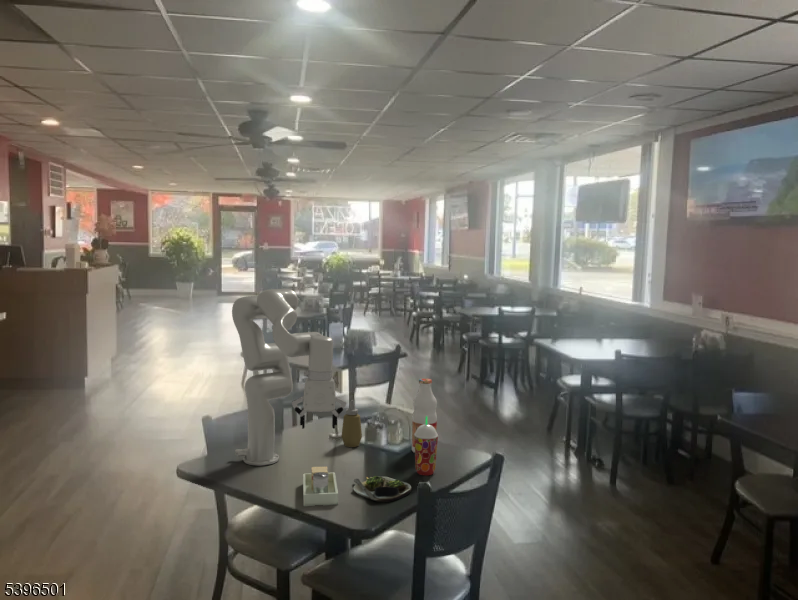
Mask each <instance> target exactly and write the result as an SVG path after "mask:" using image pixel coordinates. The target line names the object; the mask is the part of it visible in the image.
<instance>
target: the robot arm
mask: <svg viewBox="0 0 798 600" xmlns="http://www.w3.org/2000/svg"><path fill="white" fill-rule="evenodd" d="M298 307H299V297H298V295H297V293H296V292H295V291H294V290H292V289H291V288H274V289H273V288H272V289H271V288H270V289H265V290H262V291H261V292H260V293H259V294H257V295H246V296H241V297H239V298H237V299H235V300H234V302H233V304H232V308H231V310H232V311H231V316H232V321H233V323H234V326H235V329H236V331H237V334H238V337H239V341H240V347H241V352H242V356H243V361H244V365H245V368H246V369H247V370H248V371H250V372H261V371H267V370H272V372H267V373H258V374H254V375H252V376H250V377H248V378H247V379H246V381H245V383H244V392H245V397H246V404H247V406H246V407H247V447H246V448H244V449H241V448H240V449H239V448H238V449H237V448H236V449H235V451H234V452H235V456H238V457H243V462H244V463H245V464H247V465H250V466H254V467H255V466H260V467H261V466H269V465H272V464H275V463H277V462H278V461H279V460H280V455H279V454H278V453H276V452H275V451H276V450H275V449H276V448H275V447H276V446H275V445H276V441H275V440H276V439H275V437H276V436H275V435H276V431H275V430H276V427H275V425H276V424H275V422H276V421H275V420H276V419H275V418H276V416H275V415H276V414H275V413H276V412H275V409H274V407H273V406H272V405H271V403H270V400H274V399H279V398H286V397H288V396H290V395H291V393H292V392H293V387H294V385H293V384H294V383H293V377H292V371H291V367H290V361H289V358H299V357H306V356H307V357H308V366H307V367H308V369H307V370H306V371H303V376H306V377H307V378H306V379H305V383H304V389H303V396H300V397H298V398H297V399H294V400H293V401H291V405H292V407H293V409H294V411H295V412H296V413H297V414H298V415H299V419H300V420H299V425H300V426H301V429H305V427H306V426H305V425H306V424H305V422H306V420H305V419H306V413H308V412H312V413H316V412H317V413H323V412H324V413H328V412H330V413H332V415H331V416H332V417H331V418H332V419H331V422H332V423H331V426H332V427H331V428H332V429H335V428H336V426H338V416H339V415H340V414H342V412H343V411H344V409H345V407H346V405H347V401H346V400H343V399H342V398H339V397H338V396H336V382H335V379H334V378H333V355H334V354H333V353H334V340H333V338H332V337H329V336H326V335H323V334H321V333H320V332H317V331H309V332H294V333H290V332H289V331H288V330H290V329H291V328H292V327H293V326H294V325H295V324H296V322H297V319H298V314H297V312H296V310H297V308H298ZM260 319H262V320H263V319H268V320H269V321H270V322H271V324H273V327H272V339H273V341H274V342H270V343H266V341H265V336H264V332H263V330H262V328H261V327H260V325H258V324H257V322H255V320H260ZM300 403H302V408H300V407H299V404H300ZM336 403H338V404H339V405H340V406H339V407H338V408H337V409H336Z"/></svg>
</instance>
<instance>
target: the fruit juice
mask: <svg viewBox="0 0 798 600" xmlns="http://www.w3.org/2000/svg"><path fill="white" fill-rule="evenodd" d="M432 380H433V379H431V378H419V379H418V384H419V388H418V391H417V393H416V395H415V396H414V398H413V399H412V400H413V401H412V405H413V412H412V417H411V421H412V424H411V426H412V428H411V451H412V452H413V454H415V441H414V433H415V432H416V430H417V429H418V427H419V426H421V425H423V424H426V416H427V424H429V425H431V426H433V427H434V428H435V430H436V432H437V429H438V428H437V425H438V416H437V412H436V409H437V407H438V406H437V405H438V401H437V398H436V397H435V395H434V393H433V390H432V383H433V381H432Z"/></svg>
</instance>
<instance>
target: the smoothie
mask: <svg viewBox="0 0 798 600" xmlns="http://www.w3.org/2000/svg"><path fill="white" fill-rule="evenodd" d="M414 441H415V453H414V460H415V462H414V463H415V470H416V473H417V474H418V475H420V476H423V477H424V476H431V475H433V474H434V472H435V471H436V465H437V451H438V441H439V434H438V433H437V432H436V430H435V428H434V427H433V426H431V425H429V424H427V416H426V424H423V425H421V426H419V427H418V429H417V430H416V432H415V433H414Z"/></svg>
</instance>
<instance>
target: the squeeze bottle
mask: <svg viewBox="0 0 798 600" xmlns="http://www.w3.org/2000/svg"><path fill="white" fill-rule="evenodd" d="M358 413H359V409H358V408H356V405H355V400H354V399H351V400H350V401H349V406H348V408H346V409H345V414H344V415H343V420H342V421H343V422H342V428H341V439H342V442H343V444H344V446H345V447H347V448H356V447H359V445H360V444H361V441H362V437H363V432H362V421H361V415H360V414H358Z"/></svg>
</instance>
